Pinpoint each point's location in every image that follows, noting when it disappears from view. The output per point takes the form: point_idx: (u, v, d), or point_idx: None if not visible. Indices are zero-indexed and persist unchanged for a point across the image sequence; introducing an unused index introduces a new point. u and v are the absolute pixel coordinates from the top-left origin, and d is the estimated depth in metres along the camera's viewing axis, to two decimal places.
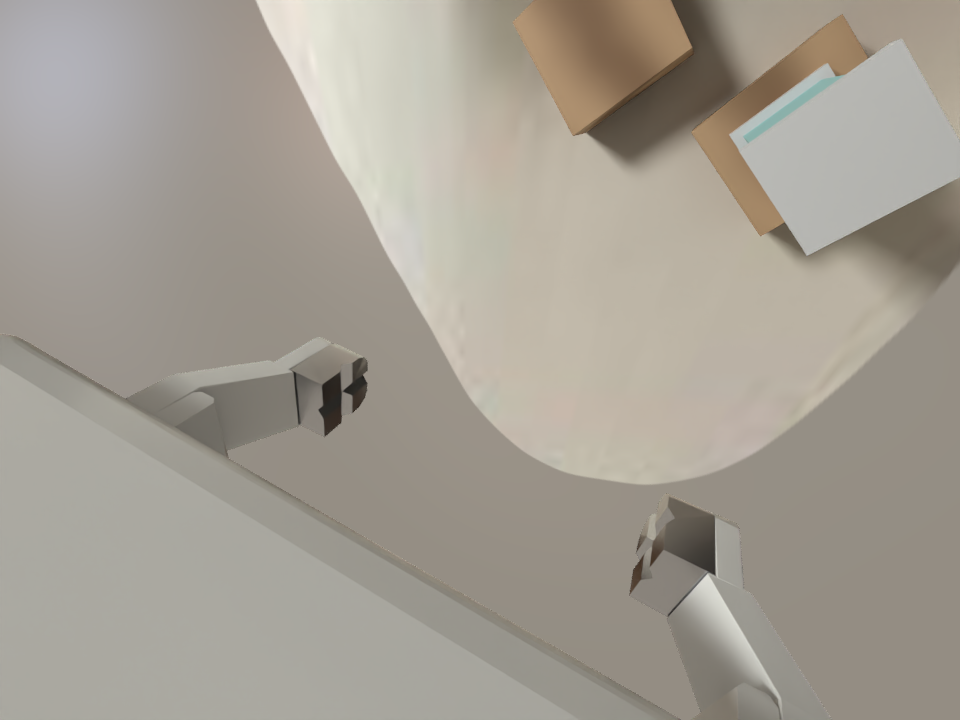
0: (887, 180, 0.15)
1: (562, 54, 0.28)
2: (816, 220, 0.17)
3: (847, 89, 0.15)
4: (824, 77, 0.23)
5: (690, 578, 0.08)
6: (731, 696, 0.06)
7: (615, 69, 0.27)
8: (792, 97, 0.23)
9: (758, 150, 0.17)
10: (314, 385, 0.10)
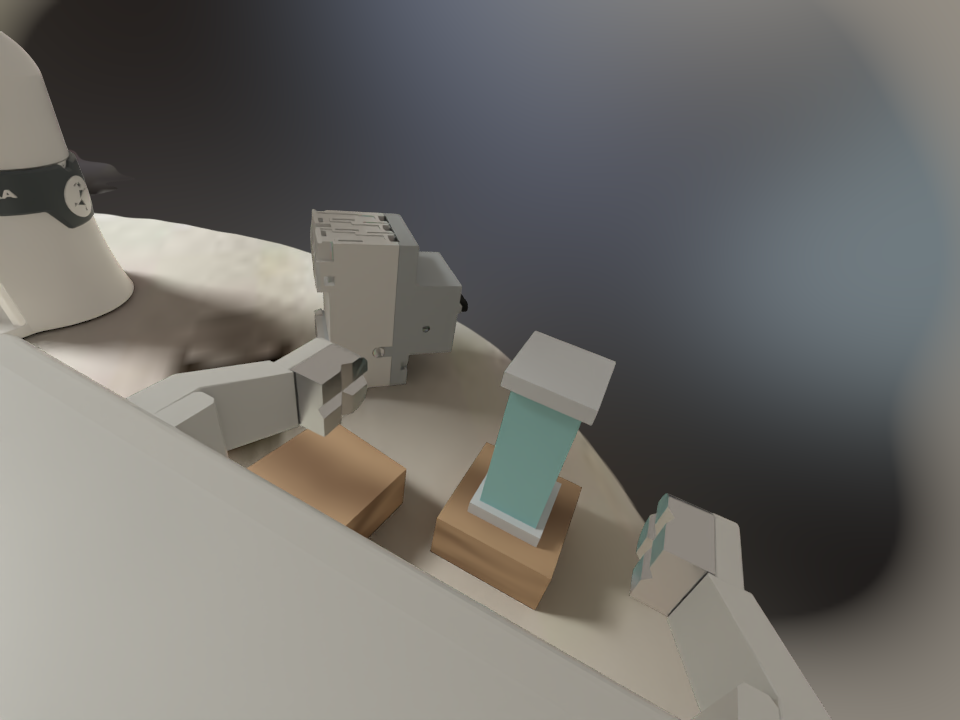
0: (589, 370, 0.24)
1: (289, 492, 0.28)
2: (580, 392, 0.22)
3: (532, 344, 0.25)
4: None
5: (690, 578, 0.08)
6: (731, 696, 0.06)
7: (347, 492, 0.29)
8: None
9: (514, 369, 0.22)
10: (314, 385, 0.10)
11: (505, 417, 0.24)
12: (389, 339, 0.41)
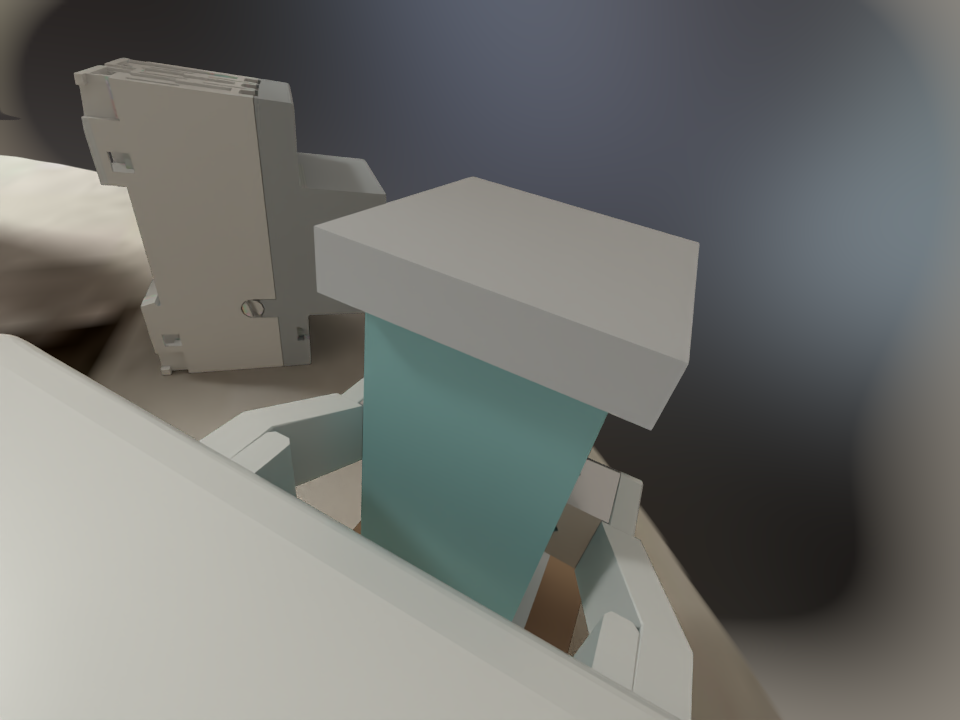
0: (627, 251, 0.07)
1: None
2: (603, 299, 0.06)
3: (453, 193, 0.08)
4: None
5: (588, 528, 0.09)
6: (599, 623, 0.07)
7: None
8: None
9: (358, 225, 0.06)
10: None
11: (369, 405, 0.08)
12: (268, 286, 0.24)
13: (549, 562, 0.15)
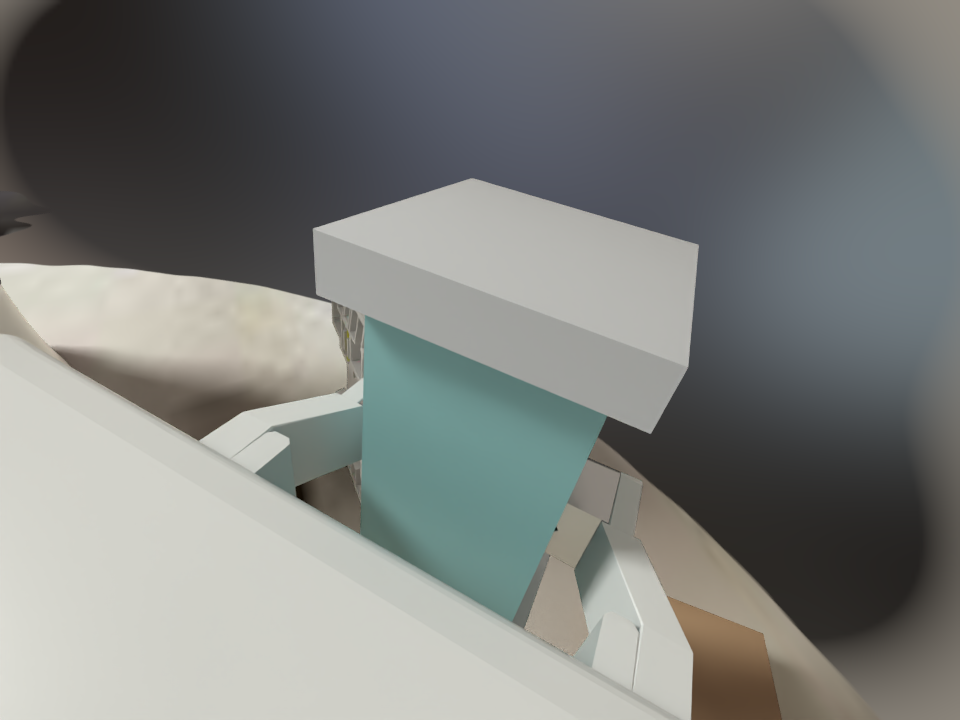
0: (627, 254, 0.07)
1: None
2: (602, 302, 0.06)
3: (452, 195, 0.08)
4: None
5: (588, 528, 0.09)
6: (599, 623, 0.07)
7: None
8: None
9: (358, 227, 0.06)
10: None
11: (368, 407, 0.08)
12: None
13: (741, 646, 0.23)
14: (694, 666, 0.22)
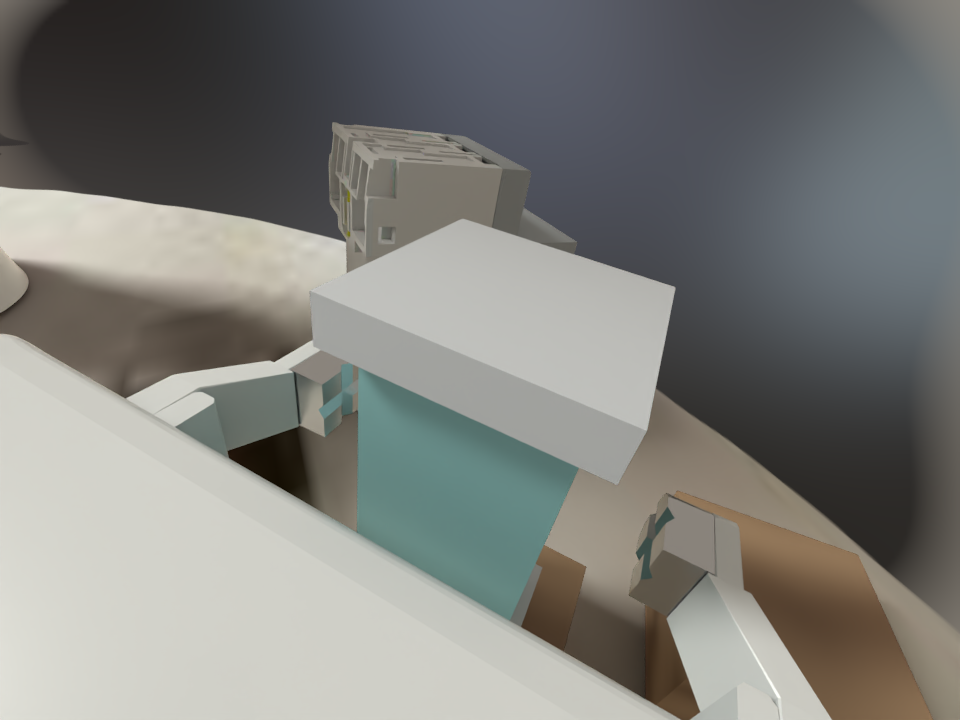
0: (604, 302, 0.08)
1: None
2: (575, 361, 0.06)
3: (442, 240, 0.09)
4: None
5: (690, 578, 0.08)
6: (730, 696, 0.06)
7: None
8: None
9: (351, 286, 0.07)
10: (314, 385, 0.10)
11: (363, 443, 0.08)
12: None
13: (834, 567, 0.19)
14: (782, 586, 0.17)
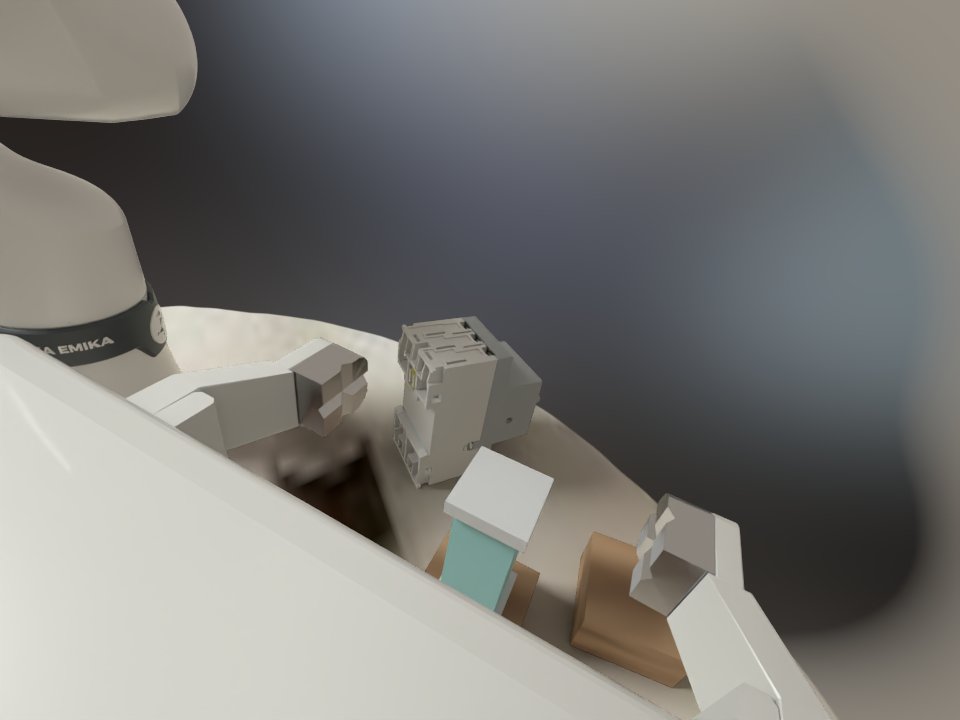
0: (527, 492, 0.26)
1: None
2: (514, 521, 0.24)
3: (476, 464, 0.27)
4: None
5: (690, 578, 0.08)
6: (731, 696, 0.06)
7: None
8: None
9: (454, 497, 0.24)
10: (314, 385, 0.10)
11: (451, 533, 0.26)
12: (478, 434, 0.44)
13: None
14: None
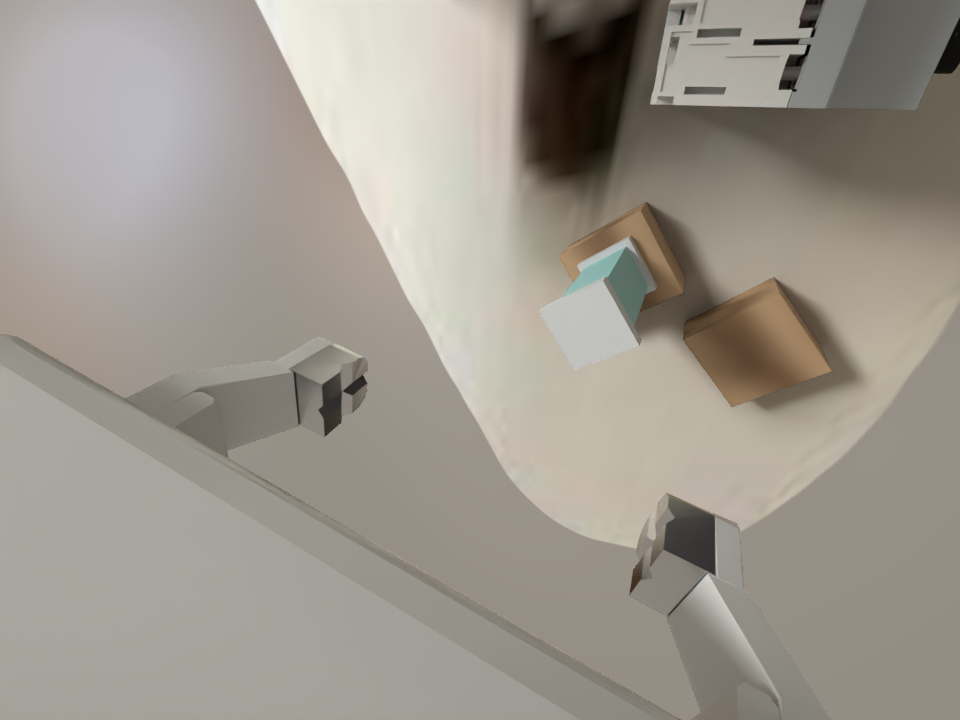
0: (604, 342, 0.29)
1: None
2: (576, 353, 0.31)
3: (583, 296, 0.28)
4: (627, 245, 0.36)
5: (690, 578, 0.08)
6: (731, 696, 0.06)
7: None
8: (610, 252, 0.37)
9: (547, 313, 0.30)
10: (314, 385, 0.10)
11: None
12: None
13: (806, 364, 0.36)
14: (763, 350, 0.37)
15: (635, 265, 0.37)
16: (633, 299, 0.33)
